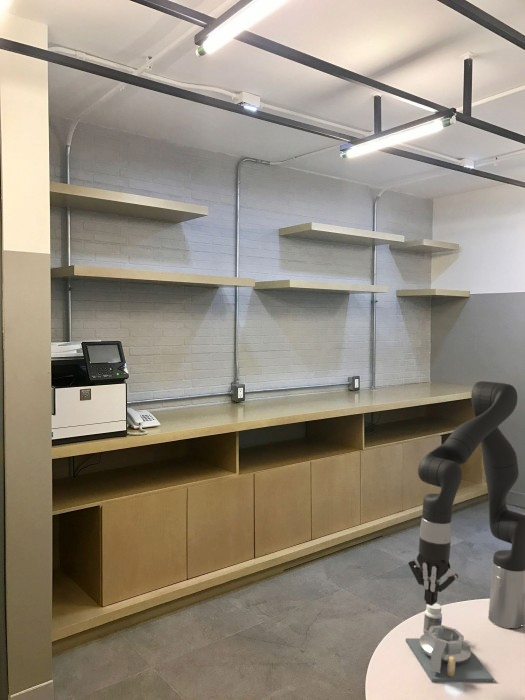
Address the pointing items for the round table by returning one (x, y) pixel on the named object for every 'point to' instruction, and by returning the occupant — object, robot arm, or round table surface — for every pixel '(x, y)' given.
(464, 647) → the handled bowl
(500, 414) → the robot arm
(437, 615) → the pill bottle
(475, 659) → the slate board
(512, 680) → the round table surface
